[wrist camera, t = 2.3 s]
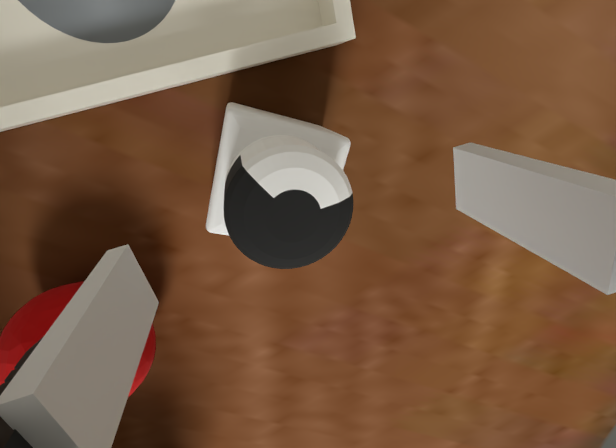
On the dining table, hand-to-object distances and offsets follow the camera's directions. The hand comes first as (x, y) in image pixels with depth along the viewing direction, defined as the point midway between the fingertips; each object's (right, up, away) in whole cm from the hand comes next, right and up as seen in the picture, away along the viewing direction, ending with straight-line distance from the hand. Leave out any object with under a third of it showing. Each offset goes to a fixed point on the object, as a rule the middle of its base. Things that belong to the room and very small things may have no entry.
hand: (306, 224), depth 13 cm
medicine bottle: (-3, +5, +13) cm, 14 cm away
